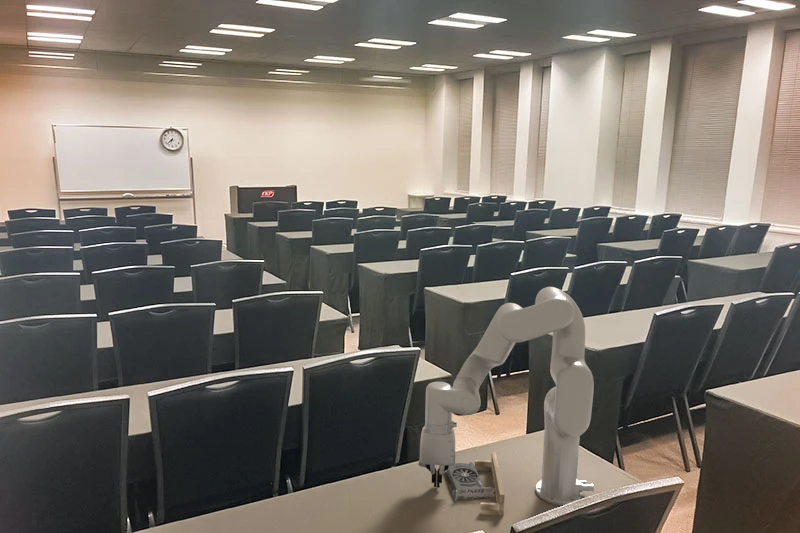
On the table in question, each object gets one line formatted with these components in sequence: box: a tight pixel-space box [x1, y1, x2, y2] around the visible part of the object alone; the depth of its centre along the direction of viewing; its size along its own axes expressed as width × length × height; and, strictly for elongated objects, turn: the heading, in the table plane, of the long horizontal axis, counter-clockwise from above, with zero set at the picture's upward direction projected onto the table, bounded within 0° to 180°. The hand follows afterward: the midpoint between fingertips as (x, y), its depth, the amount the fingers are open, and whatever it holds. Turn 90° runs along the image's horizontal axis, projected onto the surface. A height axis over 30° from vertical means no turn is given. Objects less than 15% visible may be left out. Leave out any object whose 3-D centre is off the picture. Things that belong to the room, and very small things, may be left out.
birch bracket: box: [474, 451, 505, 516], centre depth 162 cm, size 6×23×6 cm, turn 176°
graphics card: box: [446, 461, 496, 501], centre depth 166 cm, size 17×4×12 cm
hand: (436, 484), depth 164 cm, fingers closed
